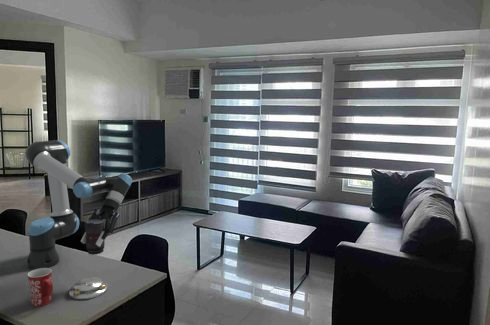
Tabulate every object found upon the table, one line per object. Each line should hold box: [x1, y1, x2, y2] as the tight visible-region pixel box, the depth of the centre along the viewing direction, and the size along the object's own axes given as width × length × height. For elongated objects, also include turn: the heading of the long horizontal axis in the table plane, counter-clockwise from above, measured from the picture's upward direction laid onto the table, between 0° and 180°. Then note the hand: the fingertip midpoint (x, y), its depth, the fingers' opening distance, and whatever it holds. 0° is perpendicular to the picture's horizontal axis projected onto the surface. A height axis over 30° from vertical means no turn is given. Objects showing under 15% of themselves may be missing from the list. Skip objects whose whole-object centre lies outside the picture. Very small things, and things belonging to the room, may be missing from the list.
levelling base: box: [68, 276, 108, 301], centre depth 163 cm, size 16×16×4 cm
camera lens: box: [84, 219, 106, 256], centre depth 168 cm, size 8×8×15 cm
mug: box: [27, 267, 54, 307], centre depth 151 cm, size 13×9×14 cm
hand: (90, 244), depth 165 cm, fingers closed on camera lens, 8 cm apart
